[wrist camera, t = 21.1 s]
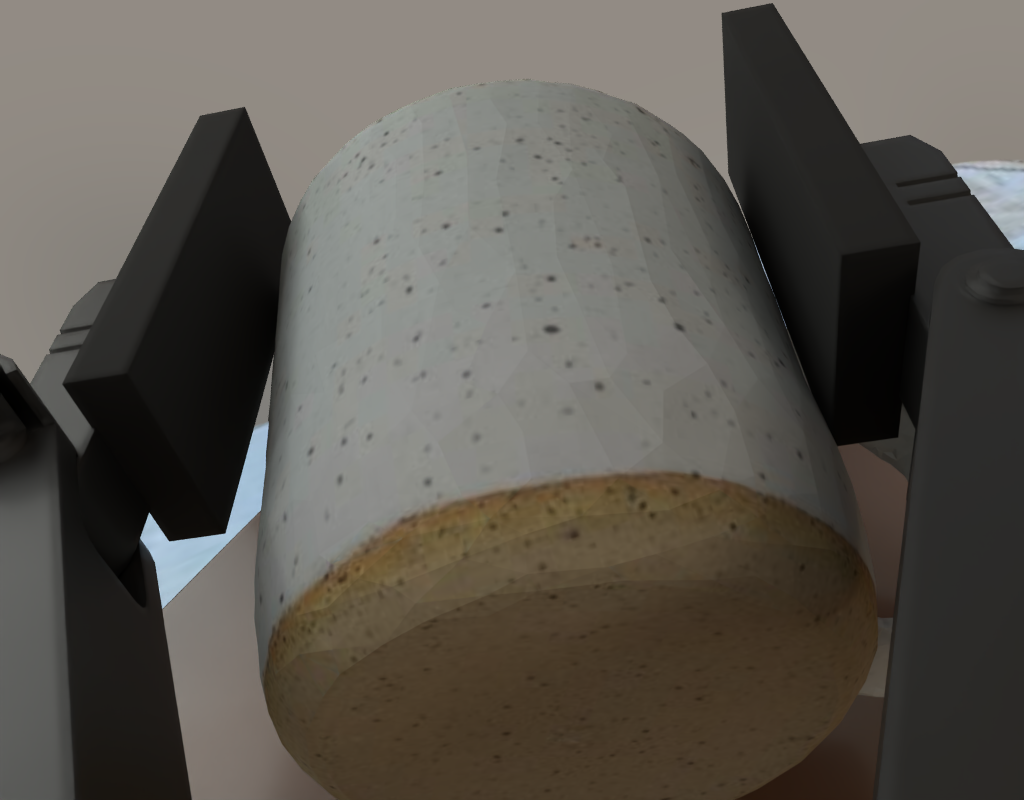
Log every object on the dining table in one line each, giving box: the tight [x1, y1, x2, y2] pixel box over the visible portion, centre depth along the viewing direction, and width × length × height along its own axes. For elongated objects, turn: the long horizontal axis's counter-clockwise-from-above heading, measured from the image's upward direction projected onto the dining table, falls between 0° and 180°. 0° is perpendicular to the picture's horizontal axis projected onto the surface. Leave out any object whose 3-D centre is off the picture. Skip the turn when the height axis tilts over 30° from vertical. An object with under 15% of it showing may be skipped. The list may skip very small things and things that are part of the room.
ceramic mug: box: [254, 79, 915, 800], centre depth 13 cm, size 11×8×8 cm
